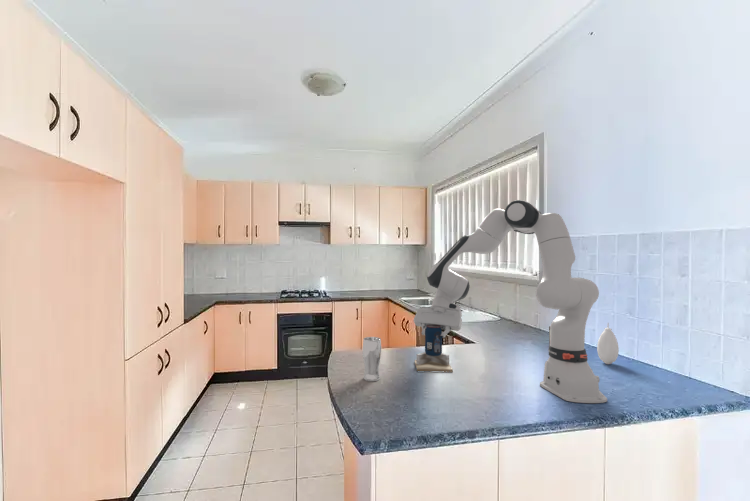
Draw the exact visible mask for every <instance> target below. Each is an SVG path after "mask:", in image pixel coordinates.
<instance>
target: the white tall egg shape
mask: <svg viewBox="0 0 750 501" xmlns="http://www.w3.org/2000/svg"><path fill="white" fill-rule="evenodd" d="M609 326H610V325H609V322H607V327H605V328H604V330H603V331H602V333H600V335H599V338H598V340H597V346H596V349H597V356H598V357H599V359H600V361H602V363H605V365H611V364H613V363H615V362H616V361H617V359H618V356H619V351H620V350H619V349H620V347H619V343H618V340H617V337H616V335H615V333H614V332H613V330H612V328H610V327H609Z"/></svg>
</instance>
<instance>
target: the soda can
mask: <svg viewBox="0 0 750 501" xmlns="http://www.w3.org/2000/svg"><path fill="white" fill-rule="evenodd" d="M424 330H425V335H424V352H425V353H426V355H427V356H432V357H438V356H440V355H441V353H443V338H441V332H443V329H441V326H440V325H427V327H426V329H424Z"/></svg>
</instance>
